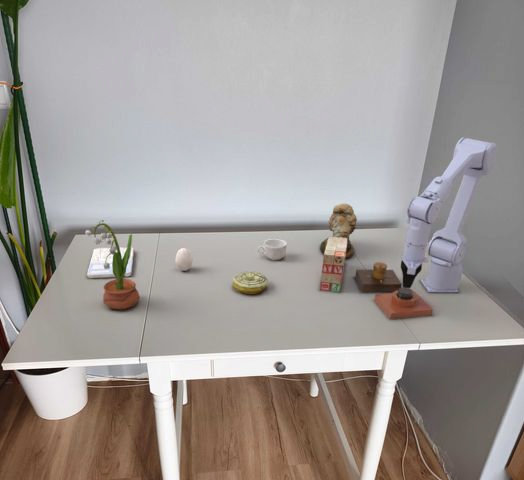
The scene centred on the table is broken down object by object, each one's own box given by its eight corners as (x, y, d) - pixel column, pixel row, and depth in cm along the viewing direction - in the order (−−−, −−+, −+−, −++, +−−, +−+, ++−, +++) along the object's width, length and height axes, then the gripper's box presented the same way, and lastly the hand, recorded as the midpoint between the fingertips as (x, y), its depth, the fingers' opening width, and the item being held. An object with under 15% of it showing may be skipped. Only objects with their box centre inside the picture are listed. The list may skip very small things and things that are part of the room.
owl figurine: (317, 239, 187) (322, 194, 177) (348, 240, 187) (354, 195, 178) (323, 260, 172) (328, 212, 162) (357, 261, 172) (364, 213, 163)
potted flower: (101, 316, 136) (86, 230, 122) (93, 300, 144) (79, 216, 130) (144, 307, 141) (134, 223, 127) (134, 292, 148) (124, 210, 135)
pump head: (407, 293, 146) (408, 286, 145) (413, 299, 143) (415, 293, 142) (395, 294, 145) (396, 288, 144) (401, 300, 142) (402, 294, 141)
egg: (184, 275, 159) (183, 253, 154) (172, 270, 161) (171, 248, 157) (196, 269, 162) (195, 247, 158) (184, 265, 165) (183, 243, 161)
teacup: (282, 252, 176) (283, 237, 173) (288, 261, 170) (289, 246, 167) (255, 254, 174) (255, 239, 171) (259, 263, 168) (260, 248, 165)
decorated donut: (274, 289, 153) (275, 278, 151) (248, 299, 147) (248, 288, 145) (252, 276, 159) (253, 266, 157) (226, 286, 153) (226, 275, 151)
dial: (372, 272, 158) (374, 260, 155) (385, 274, 157) (387, 262, 154) (371, 278, 154) (373, 265, 152) (384, 280, 154) (386, 267, 151)
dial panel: (391, 278, 162) (392, 269, 160) (400, 292, 154) (401, 283, 152) (354, 277, 161) (356, 269, 159) (361, 292, 153) (363, 283, 151)
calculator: (134, 251, 173) (133, 245, 172) (131, 277, 156) (130, 271, 155) (94, 252, 171) (93, 247, 170) (87, 279, 154) (86, 273, 153)
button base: (413, 296, 152) (416, 285, 149) (431, 315, 143) (434, 303, 141) (373, 300, 149) (376, 288, 147) (389, 319, 140) (392, 307, 138)
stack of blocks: (326, 261, 171) (330, 227, 164) (344, 263, 170) (349, 229, 163) (319, 290, 153) (323, 253, 146) (340, 293, 152) (345, 255, 145)
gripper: (431, 254, 128) (420, 300, 135) (431, 234, 140) (421, 277, 147) (403, 250, 129) (394, 296, 137) (405, 231, 141) (397, 274, 149)
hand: (406, 286), depth 142 cm, fingers closed
